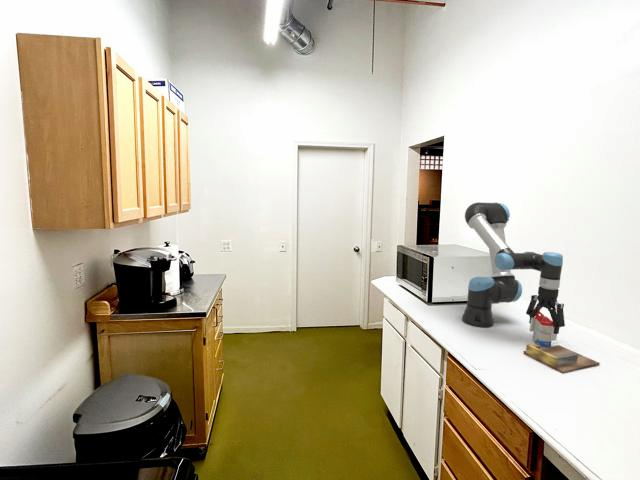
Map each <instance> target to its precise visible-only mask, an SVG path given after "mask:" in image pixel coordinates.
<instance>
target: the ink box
mask: <svg viewBox="0 0 640 480" xmlns="http://www.w3.org/2000/svg"><path fill="white" fill-rule="evenodd" d="M552 326H554V324H553V321H552V319H550V318H548V316H546V315H545V314H543V313H542V312H541V310H540V311H539V310H538V311H537V313H536V317H535V324H534V331H532V340H533V342H534V344H537V345H539V346H540V348H545V347H550V346H552V341H551V340H550V337H551V330H552Z"/></svg>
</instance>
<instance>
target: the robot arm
mask: <svg viewBox="0 0 640 480" xmlns="http://www.w3.org/2000/svg"><path fill="white" fill-rule="evenodd" d="M510 217H511V213H510V210H509V208H508V206H507V205H506V204H504V203H501V202H474V203H471V204H470V205H469V206H467V208H466V210H465V211H464V220H465V222H466V224H467V225H468V227H469V228H470V229H472V230H473V231H475V233H476V234H477V235H478V236H479V238H480V239H481V240H482V241H483V243H484V244H485V245H486V246H487V248H488V250H489V259H490V263H491V271H492V275H491V276H490V277H489V276H475V277H473V278H471V279H470V280H469V283H468V286H467V288H468V289H467V290H468V291H467V299H466V300H467V302H466V307H465V309H464V312H463V313H462V317H461V320H462V322H464V323H465V324H466V325H469V326H474V327H477V328H479V327H480V328H490V327H493V326H494V323H495V319H494V317H493V312H492V306H493V305H492V304H494V303H495V304H496V303H497V304H498V303H501V304H502V303H514V302H516V301H519V299H520V298H521V297H522V294H523V286H522V283H521V282H520V281H519V280H518V279H516V276H515V275H514V274H513V273H512V272H511V271H513V270H534V271H537V272H540V275H539V281H538V282H539V284H538V290H537V294H533V295H531V296H530V302H529V304H528V306H527V309H526V312H525V314H526V315H528V316H529V321H528V322H529V332H531V333H533V331H534V324H535V317H536V313H537V311H538V310H539V311H540V312H541V310H542V308H545V309H547V311H548V312H549V314H550V318H551V321H552V322H553V324H554V326H552V330H551V337H550V340H551V341H556V340H557V335H558V334H560V328H563V327H566V324H565V314H564V306H565V304H564V303H561V302H558V297H559V288H560V284H561V276H562V269H563V265H564V263H563V262H564V256H563V254H562V253H559V252H553V251H545V252H543V253H542V254H540V253H536V252H533V251H524V252H514V251H513V250H512V248H511V247H510V246H509V245H508V243H507V241H506V240H507V239H506V234H505V228H506V227H507V223H508V222H509V220H510Z"/></svg>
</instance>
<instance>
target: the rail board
mask: <svg viewBox="0 0 640 480" xmlns="http://www.w3.org/2000/svg"><path fill="white" fill-rule="evenodd" d="M523 355H525V356H528V357H530V358H532V359H533V360H535V361H537V362H539V363H542V364H543V365H545V366H547V367H549V368H551V369H553V370H555V371H557V372H559V373H561V374H567V373H571V372H575V371H581V370H584V369H588V368H589V369H590V368H593V367H598V366H600V365H601V362H598V361H596V360H594V359H592V358H589V357H587V356H585V355H583V354H580V353H578V352H576V351H573V350H571V349H569V348H566V347H564V346H561V345H559V344H557V345H551V346H550V347H540V346H539V345H537V344H536V343H533V344H527V343H526V347H525V350H523Z"/></svg>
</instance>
